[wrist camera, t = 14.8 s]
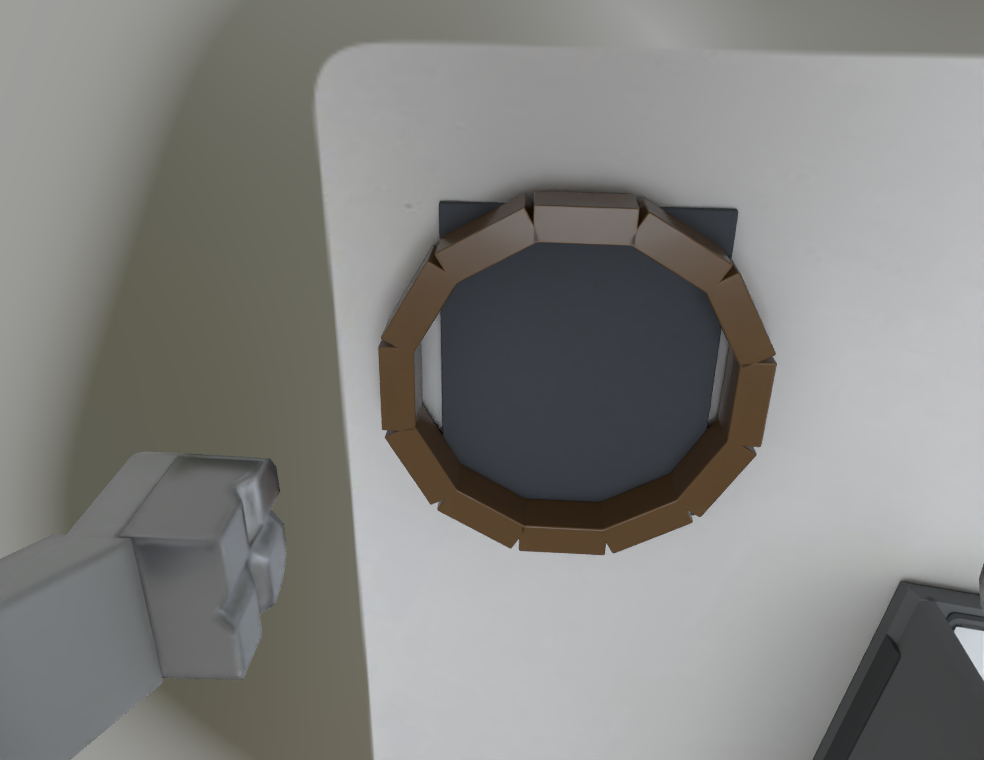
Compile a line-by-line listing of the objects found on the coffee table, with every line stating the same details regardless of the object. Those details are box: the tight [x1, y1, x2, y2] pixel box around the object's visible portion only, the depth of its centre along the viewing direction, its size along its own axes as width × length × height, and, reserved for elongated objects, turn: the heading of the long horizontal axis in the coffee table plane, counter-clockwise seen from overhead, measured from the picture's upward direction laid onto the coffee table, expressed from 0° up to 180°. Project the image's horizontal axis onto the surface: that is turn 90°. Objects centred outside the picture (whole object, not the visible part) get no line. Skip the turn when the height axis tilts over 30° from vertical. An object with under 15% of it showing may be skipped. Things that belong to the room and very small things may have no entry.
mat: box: [439, 201, 738, 515], centre depth 40 cm, size 16×13×1 cm
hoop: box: [378, 191, 777, 555], centre depth 39 cm, size 18×18×2 cm
